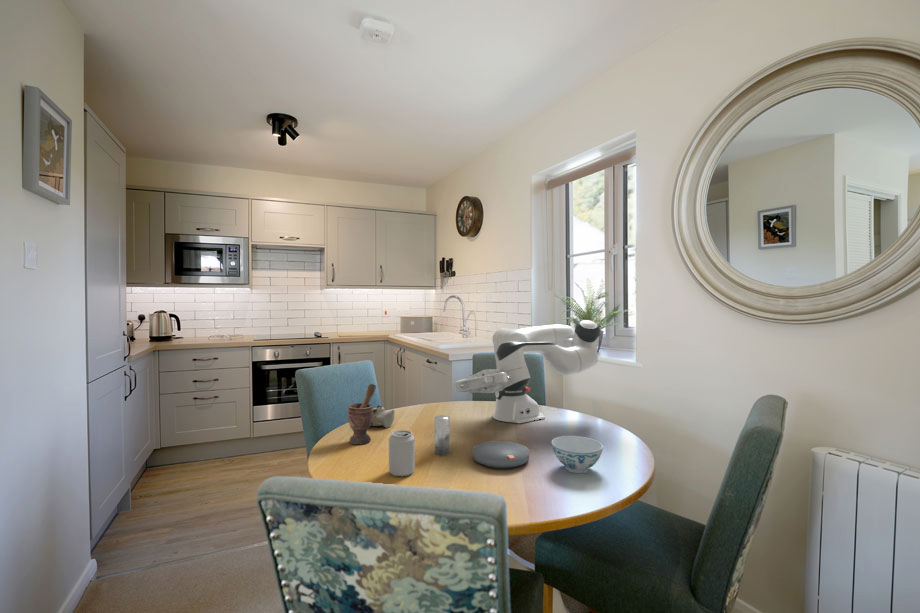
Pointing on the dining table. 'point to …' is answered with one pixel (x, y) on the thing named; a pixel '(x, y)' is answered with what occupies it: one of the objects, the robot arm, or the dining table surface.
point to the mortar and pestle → (361, 418)
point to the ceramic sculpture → (382, 417)
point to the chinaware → (577, 452)
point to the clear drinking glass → (442, 435)
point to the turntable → (500, 453)
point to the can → (401, 453)
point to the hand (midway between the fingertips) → (471, 383)
